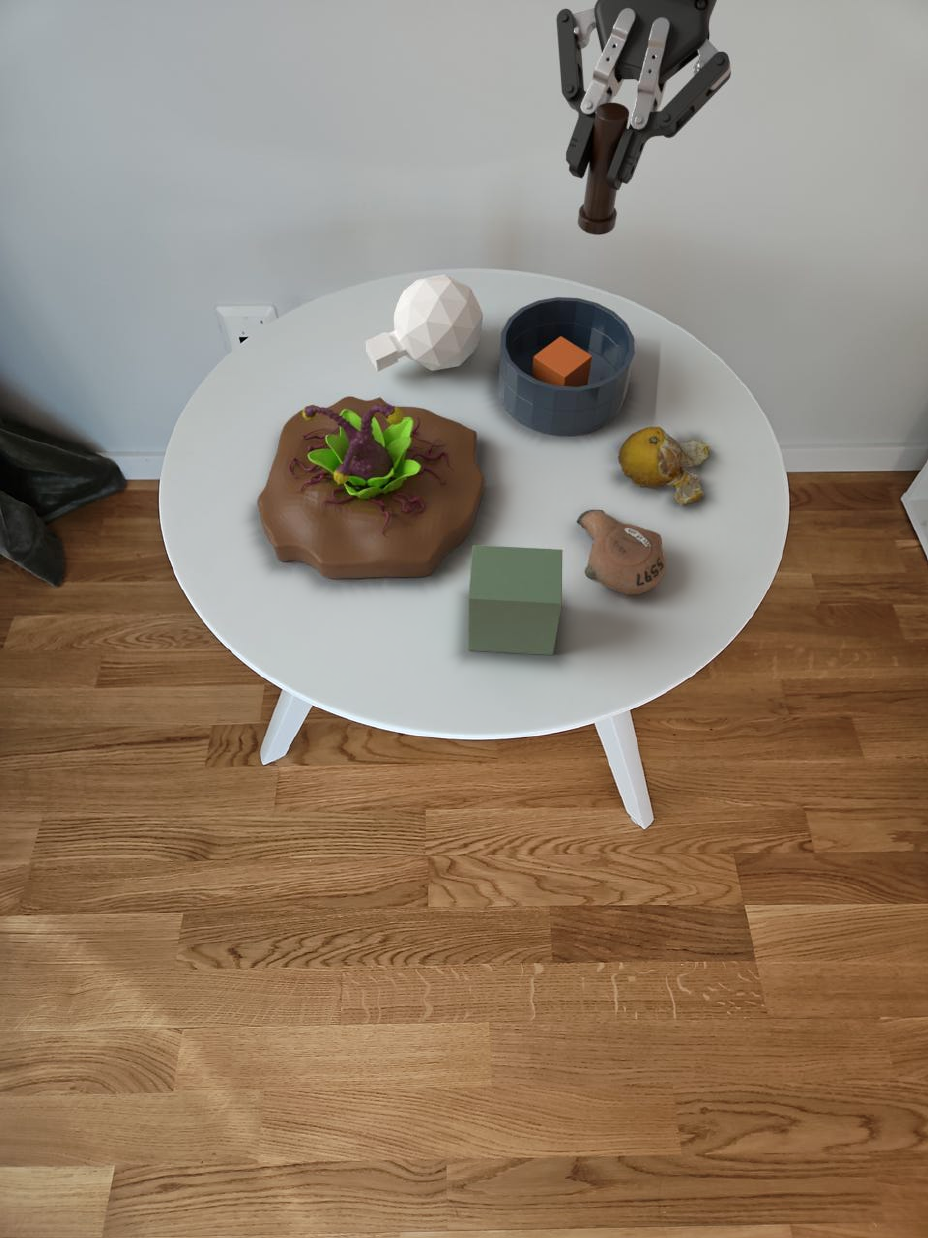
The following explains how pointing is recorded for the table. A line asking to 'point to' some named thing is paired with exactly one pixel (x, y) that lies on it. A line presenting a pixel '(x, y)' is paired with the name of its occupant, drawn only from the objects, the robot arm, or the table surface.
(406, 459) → the plant
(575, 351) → the block
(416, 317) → the perfume bottle
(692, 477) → the fruit
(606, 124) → the brown cylindrical peg
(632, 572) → the oil lamp
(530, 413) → the bowl
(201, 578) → the table surface
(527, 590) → the stand
